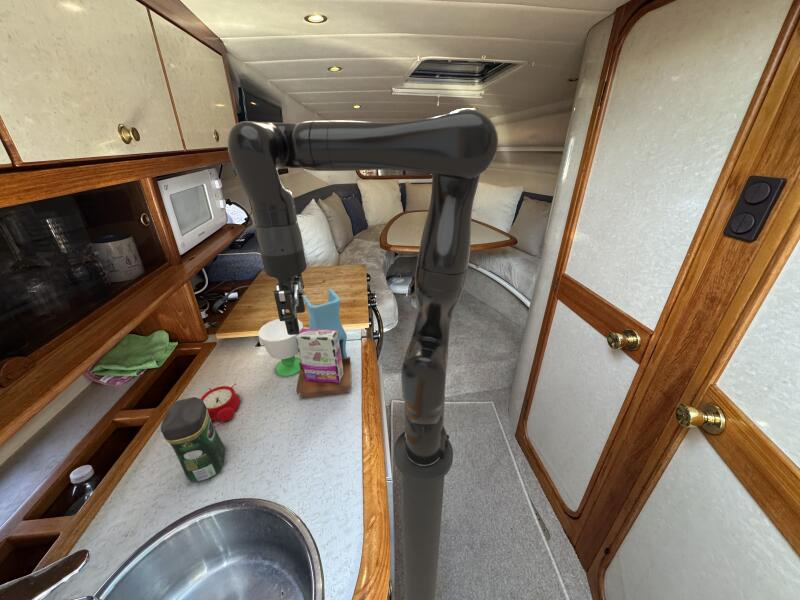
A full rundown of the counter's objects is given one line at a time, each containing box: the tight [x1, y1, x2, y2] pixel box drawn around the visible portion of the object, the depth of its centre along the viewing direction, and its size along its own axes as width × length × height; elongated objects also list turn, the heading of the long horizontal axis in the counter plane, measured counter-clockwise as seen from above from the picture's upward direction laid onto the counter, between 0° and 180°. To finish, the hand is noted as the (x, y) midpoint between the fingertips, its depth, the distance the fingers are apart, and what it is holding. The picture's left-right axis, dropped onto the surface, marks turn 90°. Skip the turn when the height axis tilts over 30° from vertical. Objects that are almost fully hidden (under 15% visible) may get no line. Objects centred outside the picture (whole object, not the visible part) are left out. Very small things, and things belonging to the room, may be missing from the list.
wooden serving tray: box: [295, 356, 352, 399], centre depth 98 cm, size 16×10×6 cm, turn 98°
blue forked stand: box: [302, 288, 348, 358], centre depth 104 cm, size 10×10×25 cm
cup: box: [258, 318, 304, 377], centre depth 104 cm, size 14×14×16 cm
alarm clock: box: [200, 382, 241, 428], centre depth 90 cm, size 10×6×15 cm
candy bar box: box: [296, 327, 344, 383], centre depth 93 cm, size 11×5×16 cm, turn 82°
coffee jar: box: [160, 396, 226, 483], centre depth 72 cm, size 10×8×19 cm
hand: (297, 322), depth 65 cm, fingers open, 8 cm apart
